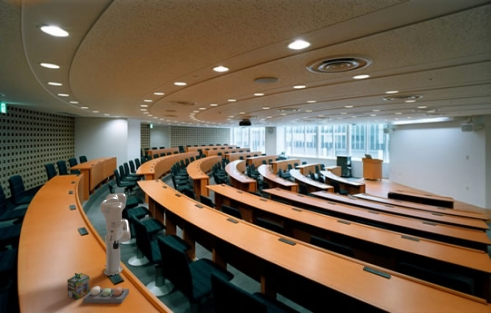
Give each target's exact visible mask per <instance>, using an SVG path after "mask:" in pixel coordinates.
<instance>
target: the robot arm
mask: <svg viewBox="0 0 491 313" xmlns="http://www.w3.org/2000/svg"><path fill="white" fill-rule="evenodd" d="M126 202H127V196H126V194H125V193H123V192H118V193H110V194H107V196H106V197H105V200H103V201H102V202H101V203H100V206H99V208H100V212H101V214H102V215H103V216H104V218H105V219H104V220H105V227H106V228H105V229H106V232H107V233H105V235H104V241H105V251H106V252H105V253H106V256H105V257H106V264H105V265H104V267H105V270H104V271H103V274H104V275H105V276H108V277H109V276H110V275H112V276H115V274H116V275H118V274H120V273H121V272H123V269H124V268H123V266H122V265H121V247H120V244H121V243H127V242H129V241H130V240H131V230H130V223H129V221H128V219H126V218H123V217H122V216H123V214H122V213H123V210H124V209H125V208H126Z"/></svg>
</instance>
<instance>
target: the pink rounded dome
mask: <svg viewBox="0 0 491 313" xmlns="http://www.w3.org/2000/svg"><path fill="white" fill-rule="evenodd" d="M113 289H114V297H120V296H121V295H122V289H123V287H122V286H119V285H118V286H116V287H114V288H113Z"/></svg>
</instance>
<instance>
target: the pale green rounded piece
mask: <svg viewBox="0 0 491 313" xmlns="http://www.w3.org/2000/svg"><path fill="white" fill-rule="evenodd" d="M103 289H104V290H103V296H106V297H109V296H110V295H111V289H112V288H111V287H106V288H103Z"/></svg>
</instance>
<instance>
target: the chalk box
mask: <svg viewBox="0 0 491 313" xmlns="http://www.w3.org/2000/svg"><path fill="white" fill-rule="evenodd" d="M90 286H91V284H90V275H88V274H85V273H82V272H80V273H77V272H74V276H72V277H70V278H68V279H67V296H68V297H69V298H72V299H73V300H76V301H78V299H81V297H85V296H86V295H87V294H88V293H89V292H90V291H91V287H90Z"/></svg>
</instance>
